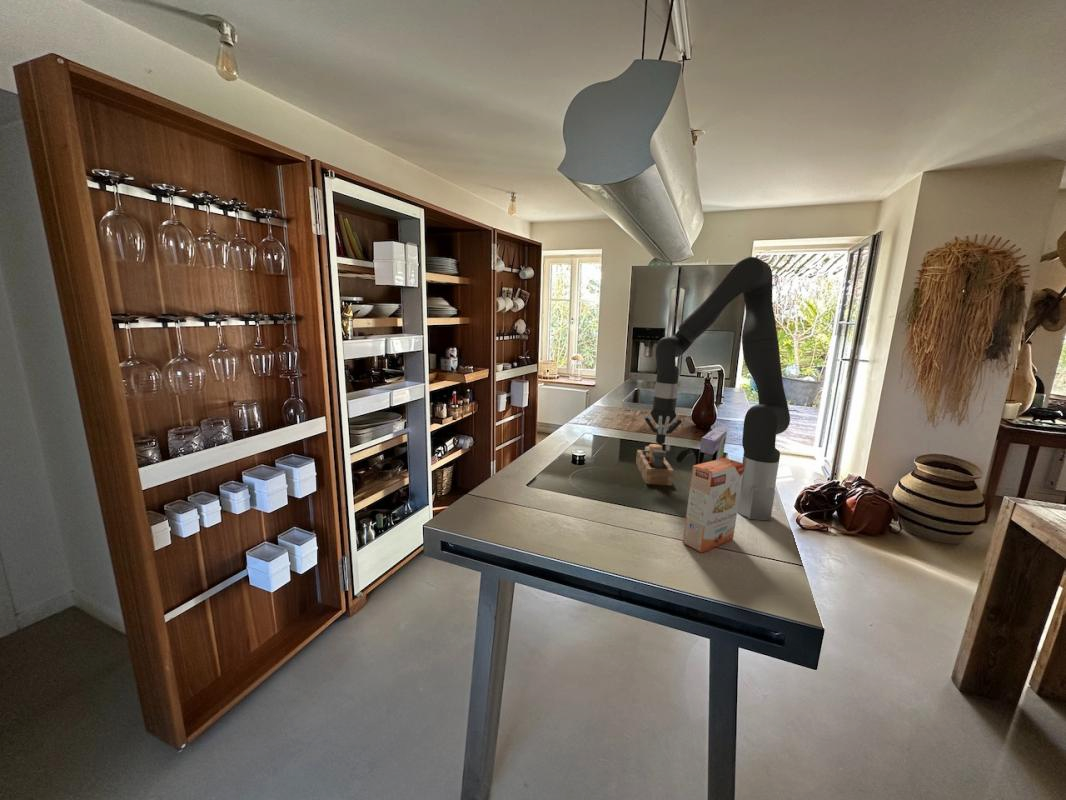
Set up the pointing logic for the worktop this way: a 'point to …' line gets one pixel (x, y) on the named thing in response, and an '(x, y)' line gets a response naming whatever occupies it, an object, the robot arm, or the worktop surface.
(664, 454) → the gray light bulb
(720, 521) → the cracker box
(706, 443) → the cake pan box
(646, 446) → the steel plug
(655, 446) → the terracotta plug
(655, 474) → the light wood long tray
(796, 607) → the worktop surface
